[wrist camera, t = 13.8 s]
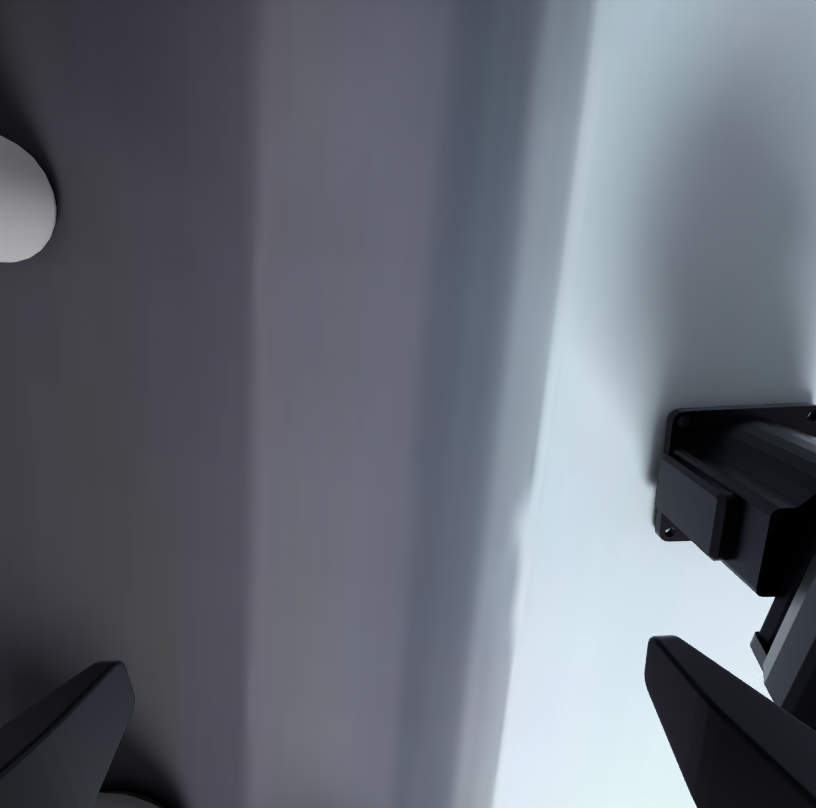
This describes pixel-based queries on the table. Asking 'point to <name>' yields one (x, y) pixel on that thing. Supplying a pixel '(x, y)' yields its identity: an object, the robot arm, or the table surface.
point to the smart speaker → (124, 800)
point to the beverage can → (23, 204)
